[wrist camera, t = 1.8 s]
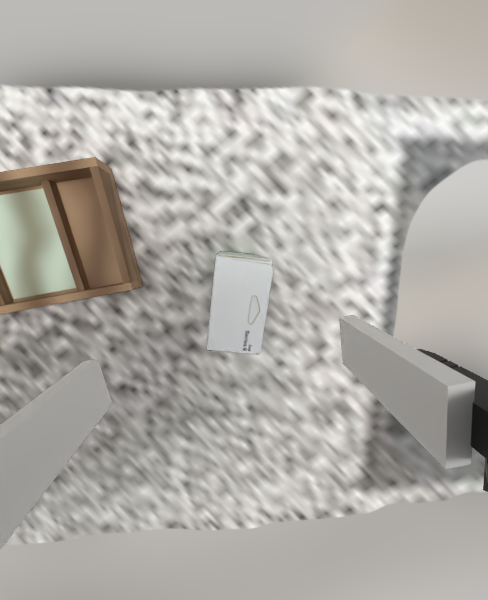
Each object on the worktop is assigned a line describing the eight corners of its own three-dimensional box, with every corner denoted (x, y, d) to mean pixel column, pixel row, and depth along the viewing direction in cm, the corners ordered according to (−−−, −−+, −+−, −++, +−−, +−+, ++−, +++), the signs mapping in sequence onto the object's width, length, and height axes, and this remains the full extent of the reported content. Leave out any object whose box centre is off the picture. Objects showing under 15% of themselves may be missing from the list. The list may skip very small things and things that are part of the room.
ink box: (217, 249, 30) (213, 250, 19) (256, 254, 31) (276, 257, 19) (211, 315, 32) (204, 353, 20) (248, 318, 32) (262, 357, 21)
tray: (-35, 317, 29) (-69, 326, 26) (-88, 200, 26) (-134, 193, 23) (143, 285, 30) (132, 289, 27) (111, 168, 27) (95, 157, 24)
